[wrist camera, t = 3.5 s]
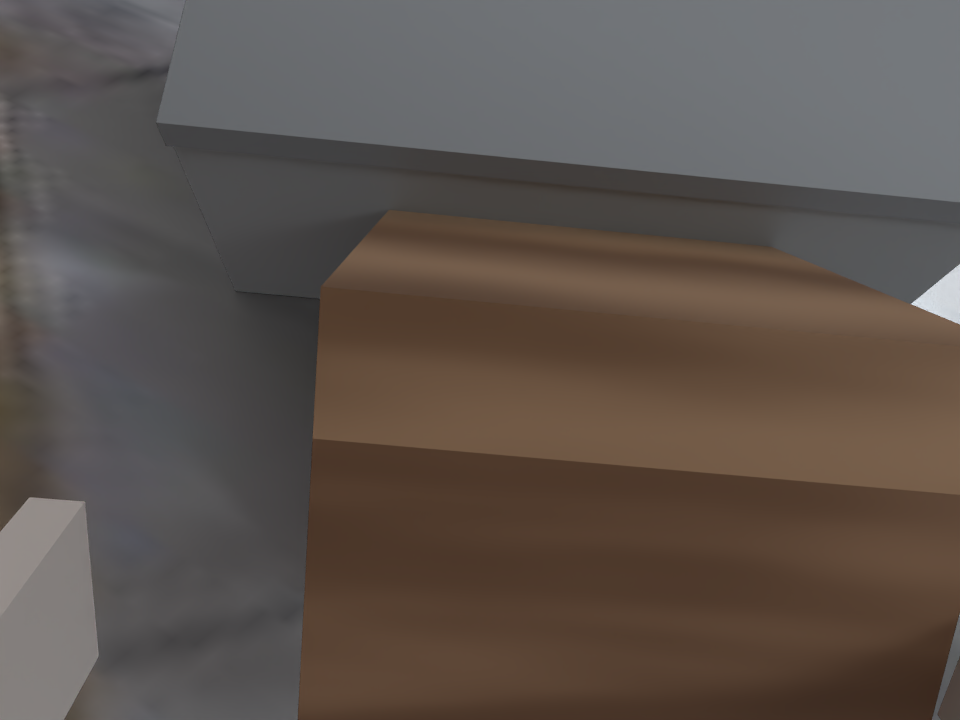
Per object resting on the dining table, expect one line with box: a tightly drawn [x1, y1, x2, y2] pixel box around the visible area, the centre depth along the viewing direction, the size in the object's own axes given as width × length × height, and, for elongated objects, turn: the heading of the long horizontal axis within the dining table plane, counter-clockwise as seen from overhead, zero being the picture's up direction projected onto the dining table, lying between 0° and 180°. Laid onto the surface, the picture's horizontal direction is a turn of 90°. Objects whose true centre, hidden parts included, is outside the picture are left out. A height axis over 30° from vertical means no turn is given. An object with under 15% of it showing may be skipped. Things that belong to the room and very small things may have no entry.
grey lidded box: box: [156, 0, 960, 304], centre depth 24 cm, size 10×18×8 cm, turn 86°
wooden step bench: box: [298, 210, 960, 720], centre depth 17 cm, size 13×9×14 cm
